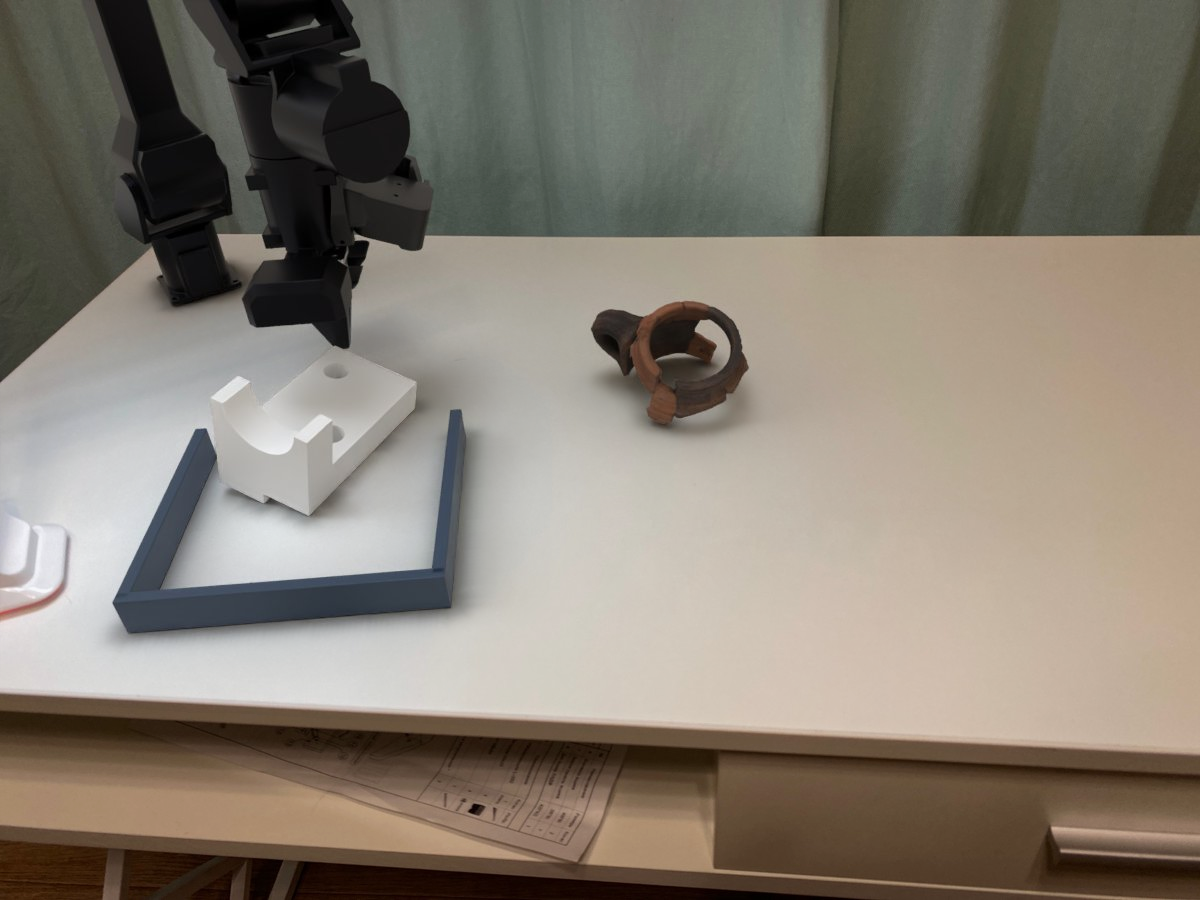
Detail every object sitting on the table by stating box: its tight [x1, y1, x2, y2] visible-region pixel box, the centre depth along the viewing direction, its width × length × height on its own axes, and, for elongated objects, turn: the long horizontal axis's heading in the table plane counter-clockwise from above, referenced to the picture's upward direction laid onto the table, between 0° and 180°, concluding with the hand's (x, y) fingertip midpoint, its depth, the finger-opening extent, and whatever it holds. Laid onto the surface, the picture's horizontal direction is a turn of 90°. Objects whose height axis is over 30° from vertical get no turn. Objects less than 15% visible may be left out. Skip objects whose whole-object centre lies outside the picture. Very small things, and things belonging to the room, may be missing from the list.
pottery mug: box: [590, 300, 750, 426], centre depth 70 cm, size 12×10×8 cm
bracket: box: [209, 346, 418, 517], centre depth 65 cm, size 13×7×8 cm, turn 157°
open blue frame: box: [111, 408, 467, 634], centre depth 60 cm, size 17×19×2 cm
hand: (343, 347), depth 72 cm, fingers closed
